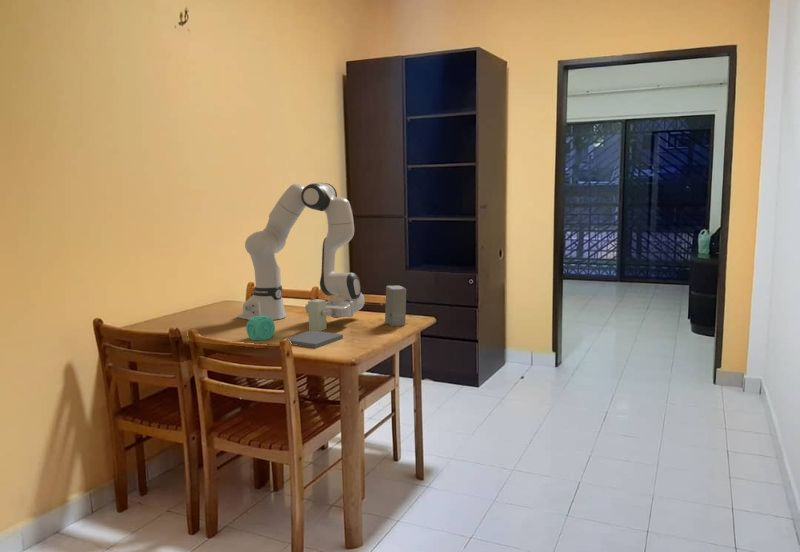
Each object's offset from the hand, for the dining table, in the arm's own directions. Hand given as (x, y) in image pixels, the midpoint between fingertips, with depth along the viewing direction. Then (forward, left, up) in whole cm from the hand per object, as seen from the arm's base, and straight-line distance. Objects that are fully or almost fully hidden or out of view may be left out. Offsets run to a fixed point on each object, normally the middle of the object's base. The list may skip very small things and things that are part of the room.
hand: (315, 313), depth 247 cm
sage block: (0, +1, -7) cm, 7 cm away
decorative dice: (-11, -20, -7) cm, 24 cm away
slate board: (+10, -14, -7) cm, 19 cm away
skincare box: (+23, +24, -7) cm, 34 cm away
